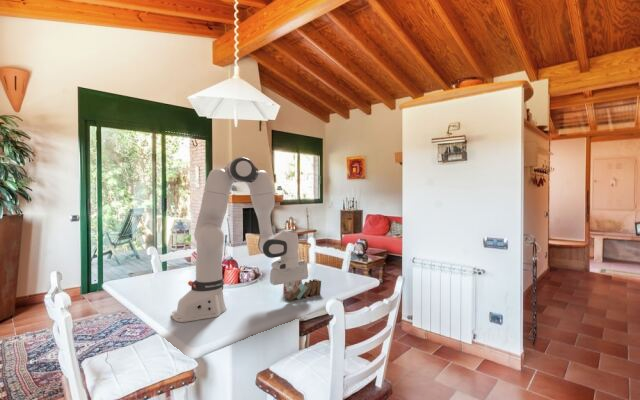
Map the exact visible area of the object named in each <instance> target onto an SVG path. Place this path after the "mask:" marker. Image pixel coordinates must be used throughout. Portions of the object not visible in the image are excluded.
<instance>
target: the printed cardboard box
mask: <svg viewBox="0 0 640 400" xmlns="http://www.w3.org/2000/svg"><path fill="white" fill-rule="evenodd" d="M300 284H302V280H298V281H295V285H294V286H296V287H298V286H299V285H300ZM288 286H289V287H290V286H291V282H289V285H288ZM282 289H283V293H286V294H287V293H288V292H289V291H287V290H286V286H285V284H283V288H282Z"/></svg>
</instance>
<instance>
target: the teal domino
mask: <svg viewBox="0 0 640 400" xmlns="http://www.w3.org/2000/svg"><path fill="white" fill-rule="evenodd" d="M298 288H299V289H300V290H301V292H300V293H299V294H298V295H297V296H296V297H295V298H294V299H296V300H300V299H301V298H302V297H303V296H302V295H303V294H304V293H305V291H306V290H307V289H308V288H307V287H306V286H305V285H304V283H303V284H302V283H301V284H300V285H299V286H298Z"/></svg>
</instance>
